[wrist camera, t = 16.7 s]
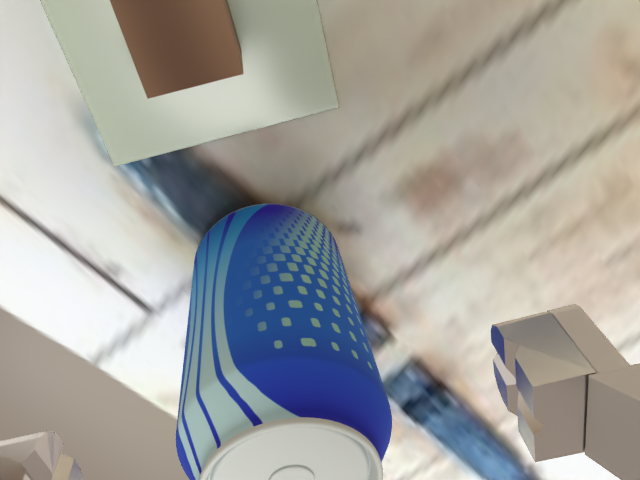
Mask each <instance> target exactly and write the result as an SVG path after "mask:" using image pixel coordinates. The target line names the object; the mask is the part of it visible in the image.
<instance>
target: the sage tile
mask: <svg viewBox="0 0 640 480" xmlns="http://www.w3.org/2000/svg"><path fill="white" fill-rule="evenodd" d="M40 1H41V3H42V5H43V8H44V10H45V12H46V14H47V17H48V19H49V21H50V23H51V26H52V28H53V30H54V32H55V35H56V37H57V39H58V41H59V44H60V46H61V48H62V50H63V53H64V55H65V57H66V59H67V61H68V64H69V66H70V68H71V70H72V73H73V75H74V77H75V79H76V82H77V84H78V86H79V88H80V91H81V93H82V95H83V97H84V100H85V102H86V104H87V106H88V109H89V111H90V113H91V115H92V118H93V120H94V122H95V124H96V127H97V129H98V131H99V133H100V136H101V138H102V140H103V142H104V144H105V147H106V149H107V151H108V153H109V156H110V158H111V160H112V162H113V165H114V167H115V166H118V165H122V164H126V163H130V162H134V161H137V160H141V159H145V158H149V157H153V156H157V155H160V154H164V153H168V152H172V151H176V150H179V149H183V148H187V147H191V146H195V145H198V144H202V143H206V142H210V141H214V140H217V139H221V138H225V137H229V136H233V135H237V134H240V133H244V132H248V131H252V130H256V129H259V128H263V127H267V126H271V125H275V124H278V123H282V122H286V121H290V120H294V119H297V118H301V117H305V116H309V115H313V114H317V113H320V112H324V111H328V110H332V109H336V108H339V105H338V100H337V95H336V90H335V85H334V81H333V76H332V71H331V66H330V61H329V57H328V52H327V47H326V42H325V37H324V33H323V28H322V23H321V18H320V13H319V9H318V4H317V0H227V1H228V4H229V8H230V11H231V15H232V18H233V22H234V25H235V29H236V33H237V36H238V40H239V43H240V47H241V51H242V63H243V74H242V75H238V76H234V77H230V78H226V79H223V80H219V81H215V82H211V83H207V84H203V85H199V86H196V87H192V88H188V89H184V90H180V91H176V92H172V93H169V94H165V95H161V96H157V97H153V98H149V99H147V96H146V94H145V91H144V88H143V86H142V83H141V81H140V78H139V75H138V73H137V70H136V68H135V65H134V62H133V60H132V57H131V55H130V52H129V49H128V47H127V44H126V41H125V39H124V36H123V34H122V31H121V28H120V26H119V23H118V21H117V18H116V15H115V13H114V10H113V8H112V5H111V2H110V0H40Z"/></svg>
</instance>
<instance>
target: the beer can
mask: <svg viewBox="0 0 640 480" xmlns="http://www.w3.org/2000/svg"><path fill="white" fill-rule="evenodd" d="M391 429H392V415H391V410H390V405H389V402H388V399H387V396H386V393H385V390H384V386H383V383H382V380H381V377H380V374H379V371H378V368H377V365H376V362H375V359H374V356H373V353H372V350H371V347H370V344H369V341H368V338H367V335H366V332H365V329H364V326H363V323H362V320H361V317H360V314H359V311H358V308H357V305H356V302H355V299H354V295H353V292H352V289H351V286H350V283H349V280H348V277H347V274H346V271H345V268H344V265H343V262H342V259H341V256H340V253H339V250H338V247H337V244H336V242H335V240H334V238H333V236H332V235H331V233H330V232H329V230H328V229H327V228H326V227H325V226H324V225H323V224H322V223H321V222H320V221H319V220H318V219H317V218H315V217H314V216H312V215H311V214H309V213H307V212H305V211H303V210H301V209H298V208H295V207H292V206H287V205H282V204H258V205H252V206H248V207H245V208H242V209H239V210H236V211H234V212H232V213H230V214H228V215H227V216H225V217H224V218H222V219H221V220H219V221H218V222H217V223H216V224H214V225H213V227H212V228H211V229H210V230H209V231H208V232H207V233H206V235H205V236H204V238H203V239H202V241H201V243H200V245H199V247H198V250H197V252H196V256H195V262H194V271H193V280H192V289H191V299H190V308H189V317H188V327H187V336H186V345H185V355H184V364H183V373H182V383H181V392H180V402H179V411H178V420H177V430H176V447H177V453H178V457H179V460H180V462H181V465H182V467H183V469H184V471H185V473H186V475H187V476H188V478H189V479H190V480H382V479H383V468H382V463H381V462H382V460H383V457H384V455H385V452H386V450H387V447H388V444H389V441H390V436H391Z"/></svg>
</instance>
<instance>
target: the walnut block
mask: <svg viewBox="0 0 640 480" xmlns="http://www.w3.org/2000/svg"><path fill="white" fill-rule="evenodd" d="M110 2H111V5H112V8H113V10H114V13H115V15H116V18H117V21H118V23H119V26H120V28H121V31H122V34H123V36H124V39H125V41H126V44H127V47H128V49H129V52H130V55H131V57H132V60H133V62H134V65H135V68H136V70H137V73H138V75H139V78H140V81H141V83H142V86H143V88H144V91H145V94H146V96H147V99H149V98H153V97H157V96H161V95H165V94H169V93H172V92H176V91H180V90H184V89H188V88H192V87H196V86H199V85H203V84H207V83H211V82H215V81H219V80H223V79H226V78H230V77H234V76H238V75H242V74H243V63H242V51H241V47H240V43H239V40H238V36H237V33H236V29H235V25H234V22H233V18H232V15H231V11H230V8H229V4H228V1H227V0H110Z"/></svg>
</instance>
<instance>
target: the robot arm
mask: <svg viewBox="0 0 640 480" xmlns="http://www.w3.org/2000/svg"><path fill="white" fill-rule="evenodd" d="M491 340H492V343H493V345H494V347H495V349H496V351H497V352H498V353H497V355H496V356H495V358H494V359H493V364H494V373H495V377H496V381H497V385H498V389H499V391H500V394H501V396H502V399H503V401H504V403H505V405H506V407H507V409H508V411H510V412H512V413H513V414H515V415H517V416H518V428H519V432H520V434H521V436H522V438H523V440H524V442H525V444H526V446H527V448H528V449H529V451H530V453H531V455H532V457H533V459H534V461H535V462H538V461H543V460H548V459H553V458H558V457H562V456H567V455H572V454H577V453H582V452H585V455H587V456H588V457H589V458H591V459H592V460H594V461H595V462H597V463H598V464H599V465H601V466H602V467H604V468H605V469H607V470H608V471H609V472H611V473H612V474H614V475H615V476H617V477H618V478H619V479H621V480H640V364H635V365H629V363H628V362H627V361H626V360H625V359H624V358H623V356H622V355H621V354H620V353H619V352H618V351H617V349H616V348H615V347H614V346H613V345H612V343H611V342H610V341H609V340H608V339H607V338H606V336H605V335H604V334H603V333H602V332H601V330H600V329H599V328H598V327H597V326H596V325H595V323H594V322H593V321H592V320H591V319H590V318H589V316H588V315H587V314H586V313H585V312H584V310H583V309H582V308H581V307H580V306H578V305H576V304H573V305H569V306H565V307H561V308H557V309H553V310H549V311H547V312H542V313H538V314H534V315H530V316H526V317H522V318H518V319H514V320H510V321H506V322H502V323H498V324H494V325H492V328H491ZM62 446H63V443H62V441H61V440H60V439H59V437H58V436H57V435H56V434H55V432H41V433H37V434H32V435H27V436H23V437H18V438H13V439H9V440H4V441H0V480H84V479H83V476H82V473H81V469H80V467H79V466H78V464H77V463H76V461H75V460H74V459H72V458H70V457H68V456H66V455H64V454H61V450H62Z"/></svg>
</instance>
